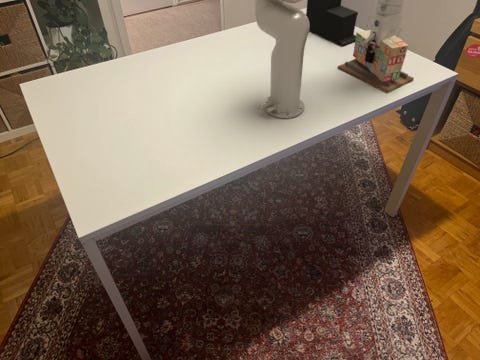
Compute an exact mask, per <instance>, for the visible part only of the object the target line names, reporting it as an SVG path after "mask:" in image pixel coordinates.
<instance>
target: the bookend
mask: <svg viewBox="0 0 480 360" xmlns="http://www.w3.org/2000/svg"><path fill="white" fill-rule="evenodd" d="M306 2H307V3H306V12H305V14H306V16H307V17H308V19H309V23H310V28H309V32H310V33H312V34H314V35H316V36H318V37H321V38H322V39H325V41H326V40H327V41H329V42H331V43H333V44H335V45H337V46H340V47H341V48H342V47H346V46H348V45H351V44H355V41H356V40H355V39H356V34H355V28H356V24H357V18H358V15H359V12H358V11H356V10H353V9H351V8H348V7H345V6H344V5H342V0H307V1H306Z"/></svg>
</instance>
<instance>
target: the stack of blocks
mask: <svg viewBox="0 0 480 360" xmlns="http://www.w3.org/2000/svg"><path fill="white" fill-rule="evenodd" d="M370 31H371V29H369V30H368V29H367V30H362V31H357V32H356V34H355V35H356V39H355V40H356V41H355V42H354V46H353V54H352V56H353V58H355V59H357V60H358V61H359V62H361V63H362V64H363V65H364V66H365V67H366V68H368V69H369V70H370V71H371V72H372V73H373V74H374V75H375V76H376V77H378V78H379V79H380V80H381V81H382V82H387V81H391V80H397V79H399V76H400V72H401V71H402V68H403V65H404V62H405V58H406V55H407V52H408V49H409V44H408V43H406V42H405V41H404V40H403V39H401V38H400V37H399V36H398V37H396V36H395V35H394V36H391V37H389V38H387V39H384V40H381V45H380V47H379V46H377V48H376V49H375V51H374V52H375V55H374V60H373V63H369V62H366V61H365V56H366V51H367V50H366V49H365V44H364V41H365V40H366V39H367V38H368V37H369V36H370ZM374 42H375V41H374ZM375 43H376V42H375ZM371 47H372V48H373V47H374V45H373V44H372V45H371Z"/></svg>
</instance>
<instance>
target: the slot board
mask: <svg viewBox="0 0 480 360" xmlns="http://www.w3.org/2000/svg"><path fill="white" fill-rule="evenodd" d="M337 70H339V71H341V72H344V73H346V74H348V75H349V76H352V77H353V78H356V79H357V80H360V81H361V82H363V83H366V85H367V84H368V85H369V86H372V87H373V88H376V89H377V90H379V91H381V92H383V93H385V94H388V93H391V92H393V91H395V90H397V89H400V88H401V87H403V86H405V85H408V84H409V83H411V82H413V81H414V79H415V78H414V77H412V76H410V75H409V74H408V73H406V72H404V71H402V70H401V72H400V76H399V79H397V80H391V81H387V82H382V81H381V80H380V79H379V78H378V77H376V76H375V75H374V74H373V73H372V72H371V71H370V70H369V69H368V68H366V67H365V66H364V65H363V64H362V63H361V62H359V61H358V60H357V59H356V58H355V59H352V60H349V61H345V62H344V63H342V64H340V65H339V64H338V66H337Z"/></svg>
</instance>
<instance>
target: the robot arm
mask: <svg viewBox="0 0 480 360" xmlns="http://www.w3.org/2000/svg"><path fill="white" fill-rule="evenodd" d="M404 1H405V0H378V3H377V7H376V13H375V15H374V18H373V21H372V24H371V28H370V30H371V31H370V36H369V37H368V38H367V39H366V40H365V41H364V44H365V49H366V50H367V51H366V56H365V61H366V62H369V63H373V60H374V55H375V52H374V51H375V49H376V48H377V46H379V47H380V45H381V40H384V39H387V38H389V37H391V36H394V35H395V36H396V37H398V38H399V35H400V32H401V31H402V28H401V25H402V24H401V23H402V19H403V18H402V16H403V15H402V14H403V11H402V10H403V6H404ZM254 2H255V3H254V5H255V7H254V8H255V9H254V10H255V13H254V14H255V22H256V24H257V26H258V28H259V29H260V30H261V31H263V32H264V33H266V34H267V35H268V36H270V37H272V38H273V39H275V45H274V47H273V49H272V51H271V55H270V56H271V57H270V90H269V91H270V94H269V95H270V96H268V97H267V101H265V103H262V104H260V105H258V106H257V108H258V111H260V112H263V111H266V113H267V114H269V115H271V116H272V117H274V118H279V119H293V118H295V117H298V116H300V115H301V114H302V113H303V111H304V110H305V104H304V102H303V101H302V100H301V89H302V88H301V87H302V78H303V64H304V54H305V48H306V43H307V40H308V36H309V32H310V31H309V28H310V23H309V19H308V17H307V16H306V12H304V11H302V10H301V9H299V8H298V7H296V6H294V5H291V4H296V3H299V2H302V0H255V1H254ZM374 41H375V42H376V43H375V42H374ZM372 44H373V45H374V47H373V48H372V47H371V45H372Z"/></svg>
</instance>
